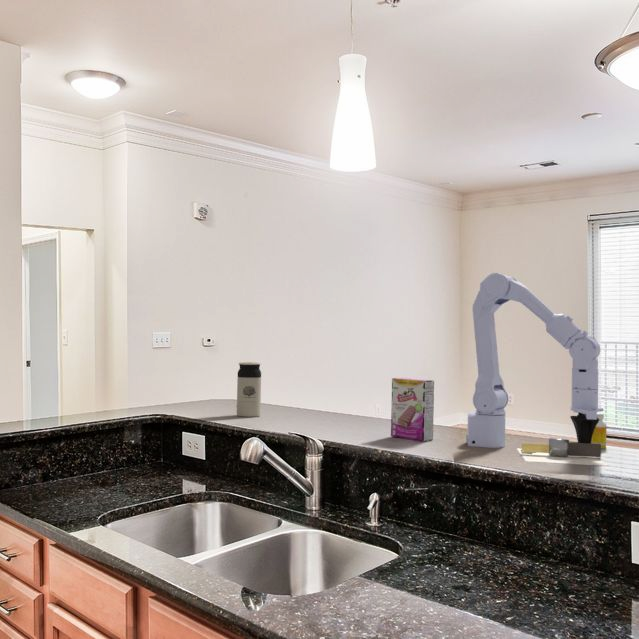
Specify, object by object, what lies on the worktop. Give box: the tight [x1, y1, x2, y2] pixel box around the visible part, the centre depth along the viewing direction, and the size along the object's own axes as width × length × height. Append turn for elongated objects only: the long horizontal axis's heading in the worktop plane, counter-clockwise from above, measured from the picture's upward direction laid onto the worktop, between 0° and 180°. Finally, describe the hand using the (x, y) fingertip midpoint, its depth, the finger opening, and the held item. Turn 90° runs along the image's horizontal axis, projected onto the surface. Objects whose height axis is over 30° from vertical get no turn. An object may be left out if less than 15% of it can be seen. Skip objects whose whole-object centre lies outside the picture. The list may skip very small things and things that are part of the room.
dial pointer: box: [521, 437, 602, 458], centre depth 149 cm, size 17×4×4 cm, turn 80°
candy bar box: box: [390, 377, 435, 442], centre depth 177 cm, size 11×5×16 cm, turn 47°
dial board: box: [515, 447, 609, 467], centre depth 149 cm, size 17×17×1 cm
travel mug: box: [236, 361, 262, 418], centre depth 219 cm, size 8×8×18 cm
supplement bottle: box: [591, 412, 607, 450], centre depth 163 cm, size 5×5×10 cm
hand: (584, 447), depth 150 cm, fingers closed
